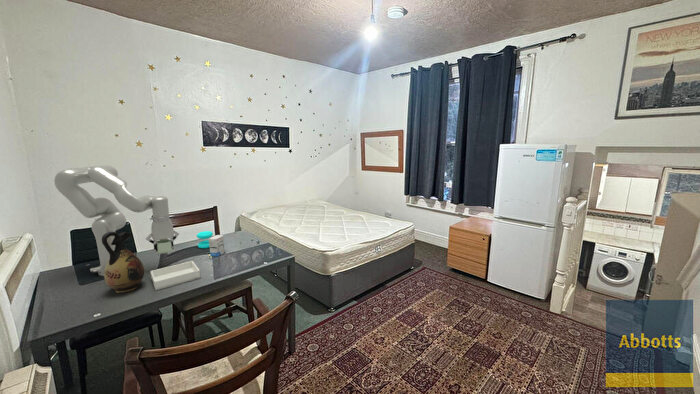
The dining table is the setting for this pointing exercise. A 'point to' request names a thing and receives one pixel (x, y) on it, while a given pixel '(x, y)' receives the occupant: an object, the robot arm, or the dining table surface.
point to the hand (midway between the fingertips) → (164, 248)
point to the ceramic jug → (122, 264)
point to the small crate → (164, 246)
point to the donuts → (204, 236)
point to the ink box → (216, 245)
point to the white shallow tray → (174, 275)
